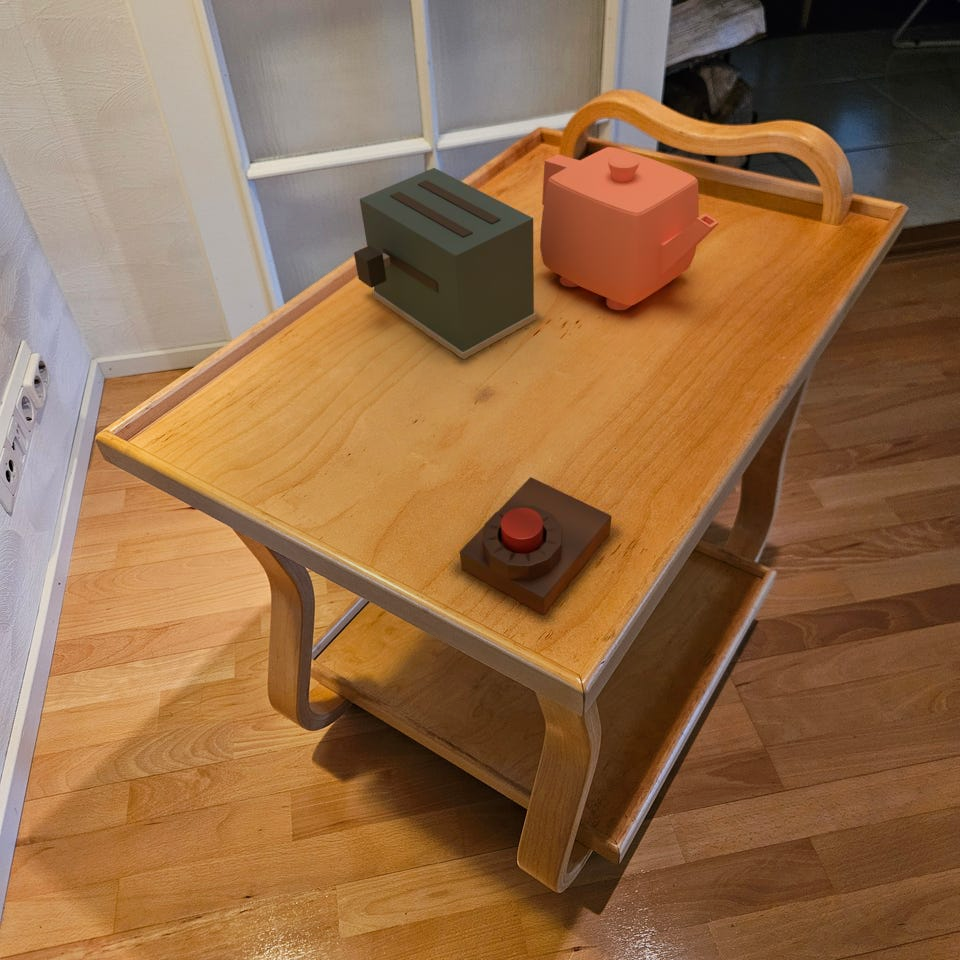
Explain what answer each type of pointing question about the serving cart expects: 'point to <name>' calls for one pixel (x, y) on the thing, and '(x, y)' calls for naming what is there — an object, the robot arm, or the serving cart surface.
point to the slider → (371, 266)
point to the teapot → (619, 223)
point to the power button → (522, 530)
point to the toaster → (452, 260)
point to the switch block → (554, 562)
